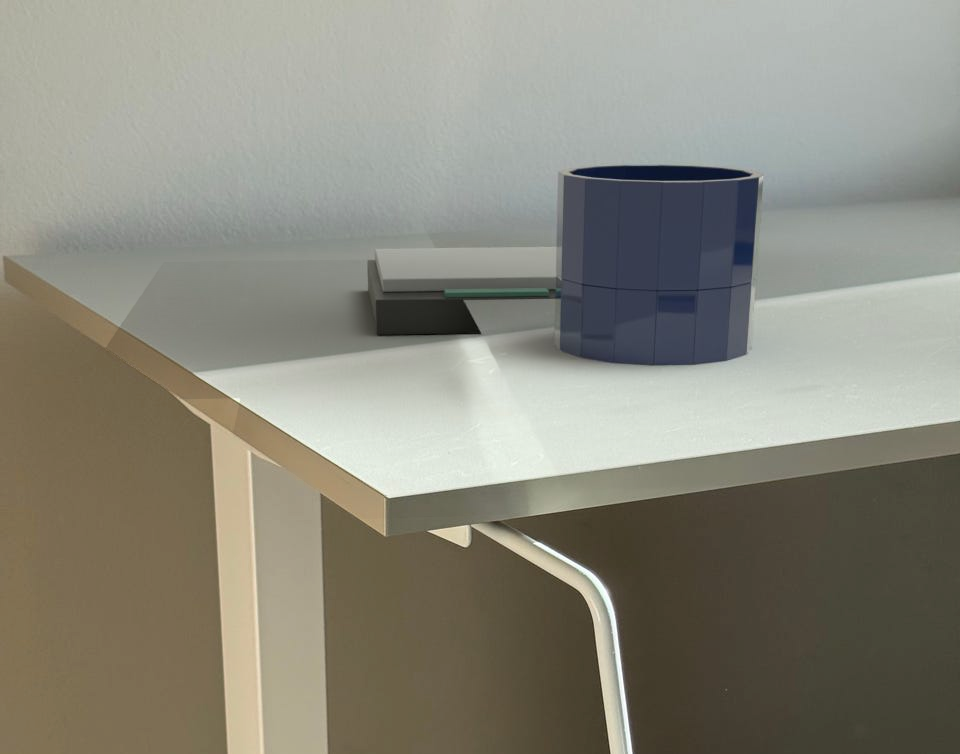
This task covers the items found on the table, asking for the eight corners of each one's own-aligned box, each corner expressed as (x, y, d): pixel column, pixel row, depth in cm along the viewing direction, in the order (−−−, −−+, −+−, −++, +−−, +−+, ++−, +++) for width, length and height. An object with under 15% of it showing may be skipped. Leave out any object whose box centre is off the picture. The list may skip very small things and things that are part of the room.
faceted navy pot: (719, 362, 77) (732, 163, 74) (770, 404, 69) (787, 181, 65) (542, 366, 76) (546, 164, 73) (571, 408, 68) (577, 182, 64)
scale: (573, 287, 100) (574, 245, 99) (617, 331, 86) (619, 282, 84) (368, 290, 99) (366, 247, 98) (376, 335, 84) (375, 285, 83)
